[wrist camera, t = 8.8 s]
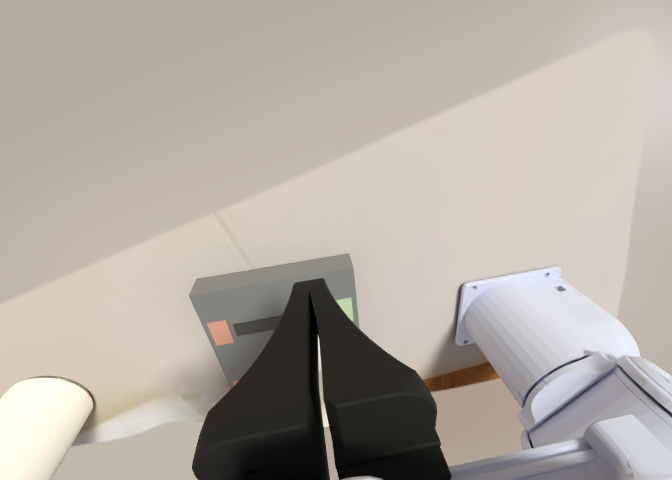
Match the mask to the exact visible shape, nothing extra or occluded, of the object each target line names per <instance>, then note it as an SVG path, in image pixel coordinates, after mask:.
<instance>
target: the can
mask: <svg viewBox="0 0 672 480" xmlns="http://www.w3.org/2000/svg"><path fill="white" fill-rule="evenodd" d="M92 409H93V401H92V397H91V395H90V393H89V392H88V391H87V390H86V389H85V388H84V387H83V386H81V385H80V384H78V383H76V382H74V381H71V380H68V379H65V378H60V377H53V376H40V377H33V378H29V379H27V380H24V381H21V382H18V383H16V384H15V385H13V386H12V387H11V388H10V389H9V390H8V391H7V392H6V393H5V394H4V395H3V396H2V397H1V399H0V480H51V479H52V477H53V475H54V474H55V472H56V470H57V468H58V467H59V465H60V463H61V462H62V460H63V458H64V457H65V455H66V453H67V452H68V450H69V448H70V447H71V445H72V443H73V442H74V440H75V438H76V437H77V435H78V433H79V431H80V430H81V428H82V426H83V425H84V423H85V421H86V420H87V418H88V416H89V414H90V413H91V411H92Z"/></svg>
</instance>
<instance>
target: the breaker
mask: <svg viewBox="0 0 672 480" xmlns="http://www.w3.org/2000/svg"><path fill="white" fill-rule="evenodd" d="M319 392H320V401H321V410H322V418H323V427H327V426H329V423H328V418H327V414H326V409H325V404H324V400H323V383H322V371H319Z"/></svg>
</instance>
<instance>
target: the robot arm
mask: <svg viewBox="0 0 672 480" xmlns="http://www.w3.org/2000/svg"><path fill="white" fill-rule="evenodd" d="M561 273H562V270H561V269H560V268H559V267H551V268H546V269H540V270H535V271H529V272H523V273H518V274H512V275H507V276H501V277H496V278H490V279H485V280H479V281H473V282H468V283H465V284H464V285H463V286H462V291H461V298H460V306H459V314H458V321H457V329H456V337H455V343H456V345H457V346H463V345H468V344H474V343H476V344H477V345H478V347H479V348H480V350H481V351H482V353H483V354H484V355H485V357H486V358H487V360H488V361H489V362H490V364H491V365H492V367H493V368H494V370H495V371H496V372H497V374H498V375H499V377H500V378H501V379H502V381H503V382H504V383H505V385H506V386H507V388H508V389H509V391H510V392H511V393H512V395H513V396H514V398H515V399H516V401H517V402H518V403H519V405H520V406H521V408H522V410H521V411H520V412H519V413H518V414H517V417H518V418H519V420H520V421H521V423H522V424H523V426H524V427H525V430H523V432H522V434H521V442H522V447H523V450H522V451H518V452H513V453H508V454H504V455H499V456H495V457H491V458H486V459H482V460H477V461H473V462H468V463H464V464H459V465H455V466H450V467H448V465H447V463H446V460H445V458H444V456H443V453H442V451H441V448H440V445H441V443H440V440H439V437H438V435H437V432H436V430H435V426H436V416H437V407H436V403H435V401H434V398H433V397H432V395H431V393H430V391H429V390H428V388H427V386H426V385H425V383H424V382H423V380H422V379H421V378H420V376H419V375H418V374H417V372H416V371H415V370H413V369H411V368H410V367H408V366H406V365H405V364H403V363H402V362H400V361H398V360H397V359H395V358H394V357H393V356H391V355H390V354H388V353H387V352H385V351H384V350H383V349H382V348H381V347H379V346H378V345H377V344H376V343H374V342H373V341H372V340H371V339H369V338H368V337H367V336H366V335H365V334H364V333H363V332H362V331H361V330H360V329H359V328H358V327H357V326H356V325H355V324H354V323H353V322H352V321H351V320H350V318H349V317H348V316H347V315H346V314H345V312H344V311H343V310H342V308H341V307H340V306H339V304H338V303H337V301H336V300H335V299H334V297H333V295H332V294H331V292H330V290H329V288H328V286H327V284H326V282H325V279H323V278H318V279H312V280H307V281H301V282H295V283H294V285H293V288H292V291H291V294H290V297H289V300H288V303H287V305H286V307H285V310H284V312H283V314H282V317H281V319H280V321H279V323H278V325H277V327H276V328H275V330H274V332H273V334H272V336H271V337H270V339H269V341H268V342H267V344H266V346H265V347H264V349H263V350H262V352H261V353H260V354H259V356H258V357H257V359H256V360H255V361H254V363H253V364H252V365H251V367H250V368H249V369H248V370H247V372H246V373H245V374H244V375H243V376H242V377H241V379H240V380H239V381H238V382H237V383H236V385H235V386H234V387H233V388H232V389H231V390H230V391H229V392H228V393H227V394H226V395H225V396H224V397H223V398H222V399H221V400H220V401H219V402H218V403H217V404H216V405H215V406H214V407H213V408H212V409H211V410H210V411H209V412H208V414H207V417H206V419H205V422H204V424H203V427H202V430H201V433H200V435H199V439H198V443H197V447H196V451H195V455H194V459H193V464H192V470H193V472H194V475H195V476H196V477H197V479H198V480H330V477H329V469H328V461H327V453H326V445H325V436H324V427H323V418H322V410H321V401H320V392H319V365H318V337H319V344H320V355H321V368H322V383H323V400H324V404H325V409H326V414H327V418H328V423H329V428H330V432H331V437H332V441H333V450H334V458H335V466H336V469H337V472H338V477H339V480H672V376H670V375H669V374H668V373H666V372H665V371H663V370H662V369H660V368H659V367H657V366H656V365H654V364H653V363H651V362H649V361H648V360H646V359H644V358H641V357H640V353H639V349H638V347H637V344H636V343H635V341H634V339H633V337H632V336H631V335H630V333H629V331H628V330H627V329H626V328H625V327H624V326H623V325H622V324H621V323H620V322H619V321H618V320H617V319H616V318H615V317H613V316H612V315H611V314H609V313H608V312H606V311H605V310H604V309H602V308H601V307H600V306H598V305H597V304H596V303H594V302H593V301H591V300H590V299H589V298H587V297H586V296H585V295H583V294H582V293H580V292H579V291H578V290H576V289H575V288H574V287H572V286H571V285H570V284H568V283H567V282H565V281H564V280H563V279H561V278H560V276H561ZM473 286H474V287H473ZM472 287H473V288H472Z"/></svg>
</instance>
